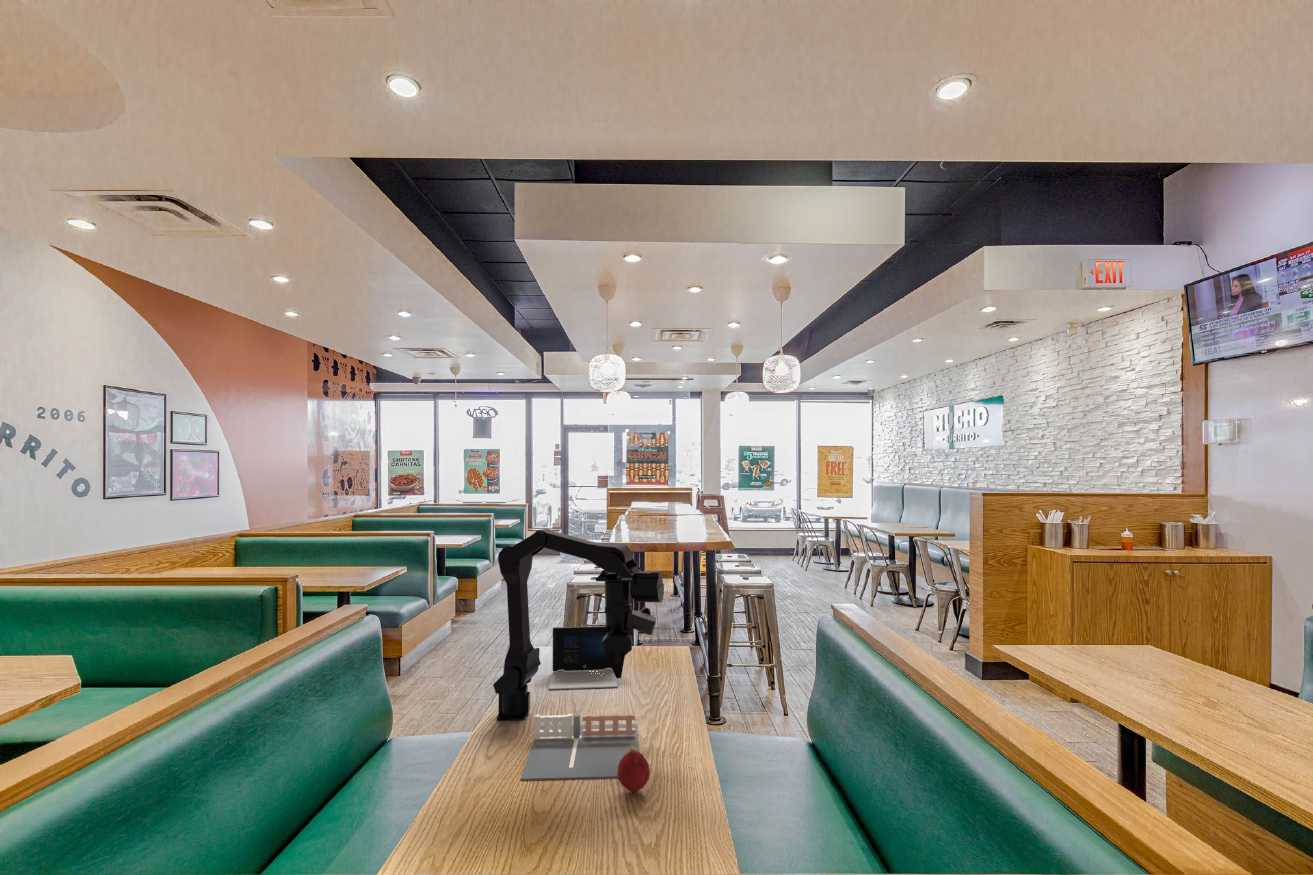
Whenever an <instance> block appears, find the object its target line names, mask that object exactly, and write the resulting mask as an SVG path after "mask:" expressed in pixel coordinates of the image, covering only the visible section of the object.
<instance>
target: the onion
mask: <svg viewBox="0 0 1313 875" xmlns="http://www.w3.org/2000/svg"><path fill="white" fill-rule="evenodd" d="M617 775H618V778H617V779H618V780H619V783H620V784H621V786H622V787H623V788H625V789H626V791H628V792H629V793H631V794H634V793H637V792H638V791H640V790H641V789H643V788H644V787H645V786H646V785H647V783H648V782H649V779H650V775H651V772H650V765H649V762H648V760H647V759H646V757H645V756H644V755H643V754H642V752H639V750H638V751H637V750H636V749H635V748H634V747H633V746H631V747H630V752H628V753H627V754H625V755H624V756H623V758H622V759H621V760H620V762H619V765H618V770H617Z"/></svg>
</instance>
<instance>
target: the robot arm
mask: <svg viewBox="0 0 1313 875" xmlns="http://www.w3.org/2000/svg"><path fill="white" fill-rule="evenodd" d="M544 549H548V550H551V551H553V552H554V551H555V552H559V553H561V554H566V555H570V556H571V557H572V556H573V557H576V558H580V559H583V560H587V561H589V562H590V563H592V564H593V565H594V566H596V567H597V568H599V569H601V570H602V571H601V572H600V573H599V575H598V576H597V577H595V582H604V605H605V606H604V614H605V615H604V616H605V617H604V618H605V625H604V626H605V632H607V634H606V635H605V636H604V637H603V641H602V651H604V653H605V655H606V657H607V659H608V661H609V663H610V665H611V668H610V669H612V670H613V672H614V674H615V677H616V678H617V679H622V675H623V668H624V664H625V658H626V655H628V654H629V653H630V652H631V651H632V650H633V636H632V635H633V629H634V630H636V631H639V632H642V633H645V634H646V635H649V636H652V635H653V633H654V629H655V626H656V624H657V617H656V616H655V615H653V614H651V608H649V607H646V606H643V607H642V608H641V609H640V610H635V609H633V604H632V602H631V599H632V600H634V601H635V602H636V603H662V602H663V600H664V596H665V584H664V582H663V581H664V580H663V577H662V576H661V574H662V573H661V571H660V570H652V571H646V570H645V571H644V570H643V571H642V569H641V567H640V565H639V564H638V563H637V562H636V560H635V559H634V558H633V554H632V550H631V549H630V547H629V546H628V545H627V544H625V543H620V542H619V543H618V542H597V541H592V540H588V539H585V538H579V537H577V536H573V535H569V534H565V533H562V532H558V531H554V530H552V529H550V528H541V529H538V530H535V532H534V533H532V534H530V535H529V536H528V537H526V538H524V539H522V540H521V541H519V542H517V543H514V544H510V545H507V546H505V547H503V548H502V549H501V550H500V551H499V552H498V555H497V562H498V566H499V572H500V575H501V576H502V578H503V580H504V581H505V584H506V596H507V618H508V619H507V620H508V622H507V623H508V639H509V641H508V642H509V646H508V650H507V651H506V654H505V658H504V664H503V673H502V675H501V676H500V677H499V678H498V679H497V680H496V681H495V682H494V683H493V685H492V686H493V690H494V692H495V694H498V714H497V716H496V720H497V721H508V720H509V721H510V720H511V721H512V720H519V721H520V720H525V719H526V717H527V714H529V712H530V709H531V691H529V688H528V686H529V685H528V684H529V683H531V681H532V678H533V677H534V676H535V675H536V674H537V672H538V671H539V666H541V665H542V663H541V661H540V660H541V659H540V653H541V652H540V651H541V650H540V647H534V646H533V644H532V642H531V633H530V632H531V631H530V630H531V628H530V616H529V614H530V613H529V612H530V611H529V610H530V609H529V591H528V581H529V580H528V579H529V576H530V574H531V571H532V568H533V557H535V555H537V554H538V553H540V552H541V551H542V550H544Z"/></svg>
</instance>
